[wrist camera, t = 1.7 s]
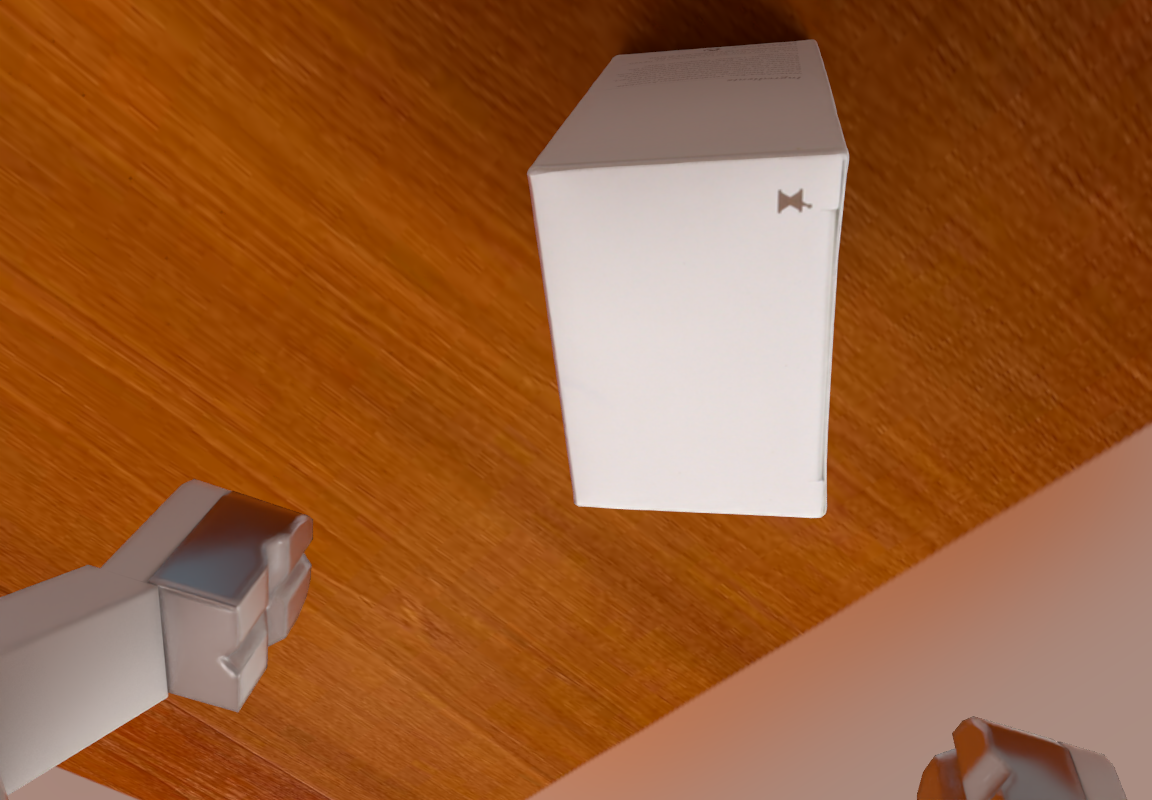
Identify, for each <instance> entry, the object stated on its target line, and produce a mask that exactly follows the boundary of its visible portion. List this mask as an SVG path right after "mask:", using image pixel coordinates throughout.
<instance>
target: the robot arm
mask: <svg viewBox="0 0 1152 800" xmlns="http://www.w3.org/2000/svg"><path fill="white" fill-rule="evenodd" d="M312 540H313V519H312V518H310V517H309V516H308V515H305V514H302V513H299V512H296V511H293V510H289V509H286V508H283V507H280V506H277V505H274V504H271V503H268V502H265V501H262V500H259V499H256V498H253V497H250V496H247V495H244V494H241V493H238V492H235V491H230V490H227V489H224V488H221V487H218V486H215V485H212V484H209V483H205V482H202V481H199V480H196V479H193V480H191V481H189V482H186V483H184V484H182V485H181V486H180V487H179V488H178V489H177V490H176V491H175V492H174V493H173V494H172V495H171V496H170V497H169V498H168V499H167V500H166V501H165V502H164V503H163V504H162V505H161V506H160V507H159V508H158V509H157V510H156V511H155V512H154V513H153V514H152V515H151V516H150V518H149V519H148V520H147V521H146V522H145V523H144V524H143V525H142V526H141V527H140V528H139V529H138V530H137V531H136V532H135V533H134V534H133V535H132V536H131V537H130V538H129V539H128V540H127V541H126V542H125V543H124V544H123V545H122V546H121V547H120V548H119V549H118V550H117V551H116V552H115V554H114V555H113V556H112V557H111V558H110V559H109V560H108V561H107V562H106V563H105V564H104V565H103V566H102V567H101V568H98V567H94V566H91V565H86V566H84V567H81V568H78V569H76V570H73V571H70V572H68V573H65V574H62V575H59V576H57V577H54V578H51V579H49V580H46V581H43V582H41V583H38V584H35V585H33V586H30V587H27V588H25V589H22V590H19V591H16V592H14V593H11V594H8V595H6V596H3V597H0V800H8V795H9V794H11V793H12V792H14V791H16V790H17V789H19V788H21V787H22V786H24V785H26V784H27V783H29V782H30V781H32V780H34V779H35V778H37V777H38V776H40V775H42V774H43V773H45V772H47V771H48V770H50V769H52V768H53V767H55V766H56V765H58V764H60V763H61V762H63V761H65V760H66V759H68V758H69V757H71V756H73V755H74V754H76V753H78V752H79V751H81V750H83V749H84V748H86V747H87V746H89V745H91V744H92V743H94V742H96V741H97V740H99V739H100V738H102V737H104V736H105V735H107V734H109V733H110V732H112V731H113V730H115V729H117V728H118V727H120V726H122V725H123V724H125V723H126V722H128V721H130V720H131V719H133V718H135V717H136V716H138V715H140V714H141V713H143V712H144V711H146V710H148V709H149V708H151V707H153V706H154V705H156V704H157V703H159V702H161V701H162V700H164V699H166V698H167V697H168V692H169V693H172V694H176V695H179V696H183V697H186V698H190V699H193V700H197V701H200V702H204V703H207V704H211V705H214V706H218V707H222V708H225V709H229V710H232V711H236V712H239V710H240V709H241V707H242V706H243V704H244V703H245V701H246V699H247V698H248V696H249V695H250V693H251V692H252V690H253V688H254V687H255V685H256V684H257V682H258V681H259V679H260V678H261V676H262V674H263V673H264V671H265V670H266V668H267V660H268V646H270V645H272V644H274V643H276V642H278V641H280V640H282V639H284V638H286V636H287V635H288V633H289V632H290V630H291V628H292V627H293V625H294V623H295V622H296V620H297V618H298V616H299V613H300V611H301V608H302V606H303V604H304V601H305V599H306V597H307V592H308V588H309V584H310V579H311V563H310V562H309V560H308V559H307V557H306V556H305V554H304V552H305V550H306V549H307V547H308V546H309V544H310V543H311V541H312ZM952 735H953V739H954V744H955V749H952V750H950V751H946V752H943V753H940V754H938V755H935V756H934V757H933V759H932V760H931V762H930V763H929V764H928V766H927V767H926V769H925V770H924V772H923V774H922V778H921V782H920V785H919V790H918V793H917V800H1127V798H1126V795H1125V793H1124V790H1123V788H1122V785H1121V783H1120V780H1119V778H1118V775H1117V773H1116V770H1115V768H1114V766H1113V764H1112V763H1111V762H1110V761H1109V760H1108V759H1107V758H1106V756H1105V755H1104V754H1100V753H1097V752H1093V751H1090V750H1087V749H1083V748H1080V747H1077V746H1073V745H1070V744H1066V743H1063V742H1056V741H1055V740H1053V739H1050V738H1047V737H1043V736H1040V735H1036V734H1033V733H1029V732H1026V731H1023V730H1019V729H1016V728H1012V727H1009V726H1006V725H1002V724H999V723H995V722H992V721H988V720H985V719H982V718H978V717H975V716H973V717H970V718H968V719H966V720H963V721H962V722H961V723H960V725H959V726H958V727H957V728H956V730H955V731H954V732H953V733H952Z"/></svg>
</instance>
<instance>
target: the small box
mask: <svg viewBox="0 0 1152 800" xmlns="http://www.w3.org/2000/svg"><path fill="white" fill-rule="evenodd" d="M848 164H849V152H848V149H847V147H846V144H845V140H844V136H843V132H842V129H841V125H840V122H839V119H838V116H837V111H836V107H835V103H834V98H833V96H832V91H831V87H830V84H829V81H828V77H827V74H826V71H825V67H824V63H823V60H822V57H821V54H820V51H819V48H818V45H817V42H816V41H815V40H813V39H812V40H802V41H792V42H778V43H764V44H752V45H740V46H727V47H714V48H700V49H687V50H674V51H662V52H650V53H638V54H625V55H616V56H615V57H614V58H613V59H612V60H611V62H610V63H609V64H608V66H607V67H606V68H605V69H604V71H603V72H602V73H601V74H600V76H599V77H598V79H597V80H596V81H595V82H594V83H593V85H592V86H591V88H590V89H589V90H588V92H587V93H586V94H585V96H584V97H583V98H582V100H581V101H580V102H579V103H578V105H577V106H576V108H575V109H574V110H573V111H572V113H571V114H570V115H569V117H568V118H567V119H566V121H565V122H564V123H563V125H562V126H561V127H560V128H559V130H558V131H557V132H556V134H555V135H554V136H553V138H552V139H551V140H550V142H549V143H548V145H547V146H546V148H545V149H544V150H543V151H542V152H541V154H540V155H539V156H538V158H537V159H536V161H535V162H534V163H533V165H532V166H531V167H530V168H529V170H528V172H527V177H528V182H529V188H530V195H531V202H532V209H533V217H534V224H535V231H536V238H537V244H538V251H539V258H540V264H541V271H542V278H543V285H544V292H545V299H546V306H547V313H548V320H549V327H550V334H551V341H552V348H553V355H554V362H555V369H556V376H557V383H558V389H559V396H560V403H561V409H562V417H563V424H564V432H565V439H566V446H567V453H568V460H569V467H570V474H571V481H572V488H573V496H574V504H576V505H577V506H586V507H601V508H615V509H635V510H660V511H678V512H700V513H722V514H745V515H767V516H787V517H806V518H819V517H822V516H823V515H825V514H826V510H827V441H828V418H829V400H830V382H831V364H832V346H833V330H834V315H835V299H836V283H837V268H838V254H839V244H840V234H841V224H842V215H843V205H844V196H845V186H846V177H847V170H848Z"/></svg>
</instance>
